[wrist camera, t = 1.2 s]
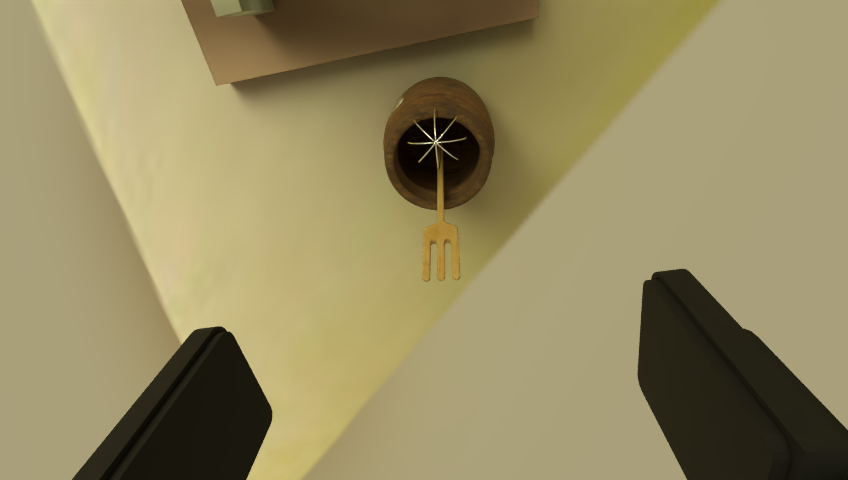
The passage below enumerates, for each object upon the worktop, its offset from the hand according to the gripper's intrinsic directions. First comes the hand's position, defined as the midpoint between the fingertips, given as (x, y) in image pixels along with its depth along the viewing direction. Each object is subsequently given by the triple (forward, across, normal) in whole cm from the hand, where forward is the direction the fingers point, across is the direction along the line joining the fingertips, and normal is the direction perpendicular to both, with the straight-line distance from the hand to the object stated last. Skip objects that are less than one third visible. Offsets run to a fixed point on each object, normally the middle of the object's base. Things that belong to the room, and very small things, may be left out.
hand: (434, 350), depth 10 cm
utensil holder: (+19, 0, -1) cm, 19 cm away
